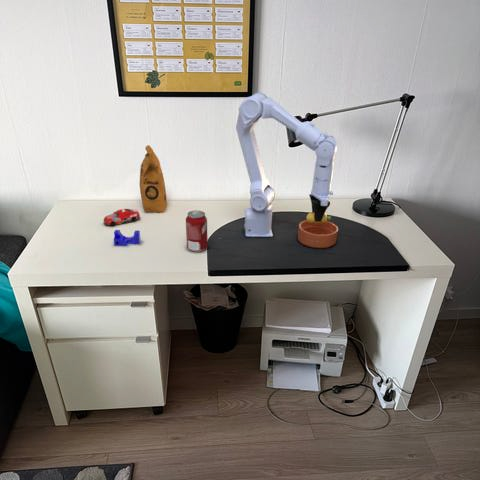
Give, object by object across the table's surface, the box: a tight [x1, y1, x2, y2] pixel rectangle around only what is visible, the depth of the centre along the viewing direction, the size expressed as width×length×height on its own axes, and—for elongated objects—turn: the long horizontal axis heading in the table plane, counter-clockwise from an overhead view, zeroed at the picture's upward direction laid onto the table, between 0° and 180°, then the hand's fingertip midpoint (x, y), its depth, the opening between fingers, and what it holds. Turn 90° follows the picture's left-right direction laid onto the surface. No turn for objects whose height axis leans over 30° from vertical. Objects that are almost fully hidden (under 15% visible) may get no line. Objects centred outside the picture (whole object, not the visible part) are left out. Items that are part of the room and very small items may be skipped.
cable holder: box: [113, 229, 142, 247], centre depth 144 cm, size 8×4×4 cm, turn 90°
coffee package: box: [139, 144, 168, 213], centre depth 165 cm, size 10×12×22 cm
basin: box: [296, 219, 339, 249], centre depth 150 cm, size 13×13×5 cm
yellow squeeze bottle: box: [306, 212, 332, 223], centre depth 146 cm, size 8×3×3 cm, turn 92°
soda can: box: [185, 210, 208, 253], centre depth 140 cm, size 7×7×12 cm
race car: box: [103, 208, 141, 227], centre depth 158 cm, size 13×5×4 cm, turn 123°
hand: (316, 218), depth 146 cm, fingers closed on yellow squeeze bottle, 3 cm apart
